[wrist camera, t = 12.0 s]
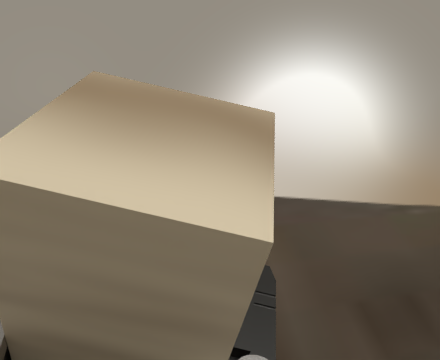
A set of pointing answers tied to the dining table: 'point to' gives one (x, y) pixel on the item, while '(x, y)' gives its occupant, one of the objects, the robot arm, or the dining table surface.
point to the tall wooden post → (133, 223)
